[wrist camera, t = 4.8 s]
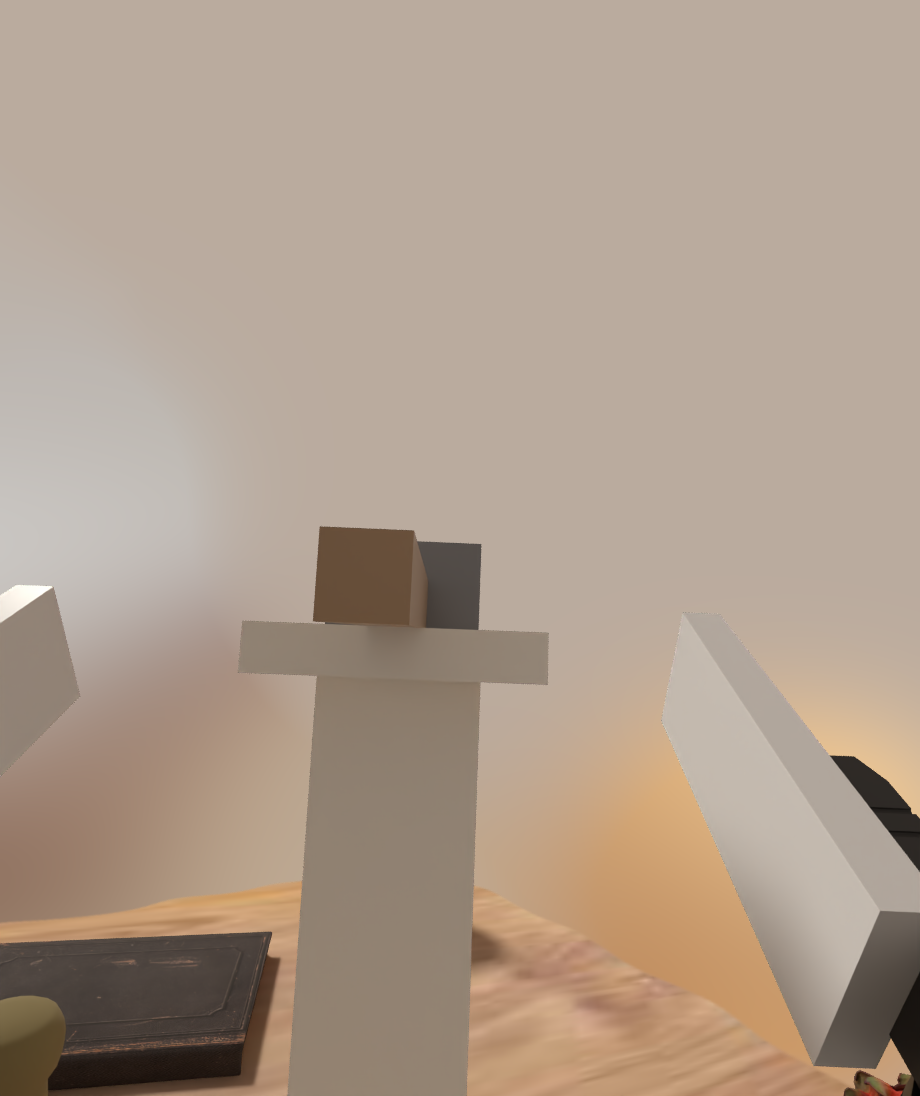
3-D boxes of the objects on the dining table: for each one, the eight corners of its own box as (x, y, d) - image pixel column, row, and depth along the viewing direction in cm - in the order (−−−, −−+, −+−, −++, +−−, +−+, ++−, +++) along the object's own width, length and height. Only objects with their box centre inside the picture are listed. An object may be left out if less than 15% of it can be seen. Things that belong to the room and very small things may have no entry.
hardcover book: (-8, 971, 52) (-4, 943, 53) (270, 958, 56) (272, 931, 57) (-159, 1117, 37) (-153, 1075, 37) (239, 1084, 41) (242, 1046, 41)
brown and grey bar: (513, 629, 14) (518, 460, 15) (207, 617, 14) (223, 447, 14) (470, 630, 36) (472, 563, 36) (351, 626, 36) (355, 558, 36)
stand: (531, 1567, 20) (548, 632, 24) (160, 1552, 20) (242, 620, 24) (503, 1215, 32) (518, 632, 36) (272, 1206, 32) (313, 624, 36)
